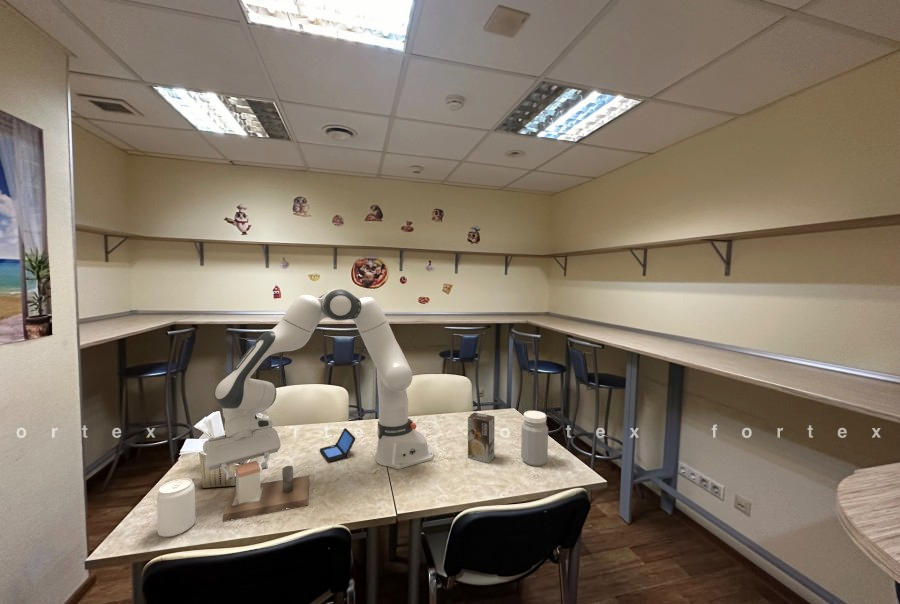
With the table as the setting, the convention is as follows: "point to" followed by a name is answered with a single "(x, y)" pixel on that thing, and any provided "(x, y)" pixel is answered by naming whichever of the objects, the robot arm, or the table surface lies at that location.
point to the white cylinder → (176, 507)
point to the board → (271, 497)
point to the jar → (534, 438)
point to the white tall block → (248, 482)
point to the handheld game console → (339, 448)
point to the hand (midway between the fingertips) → (247, 473)
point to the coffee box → (481, 437)
